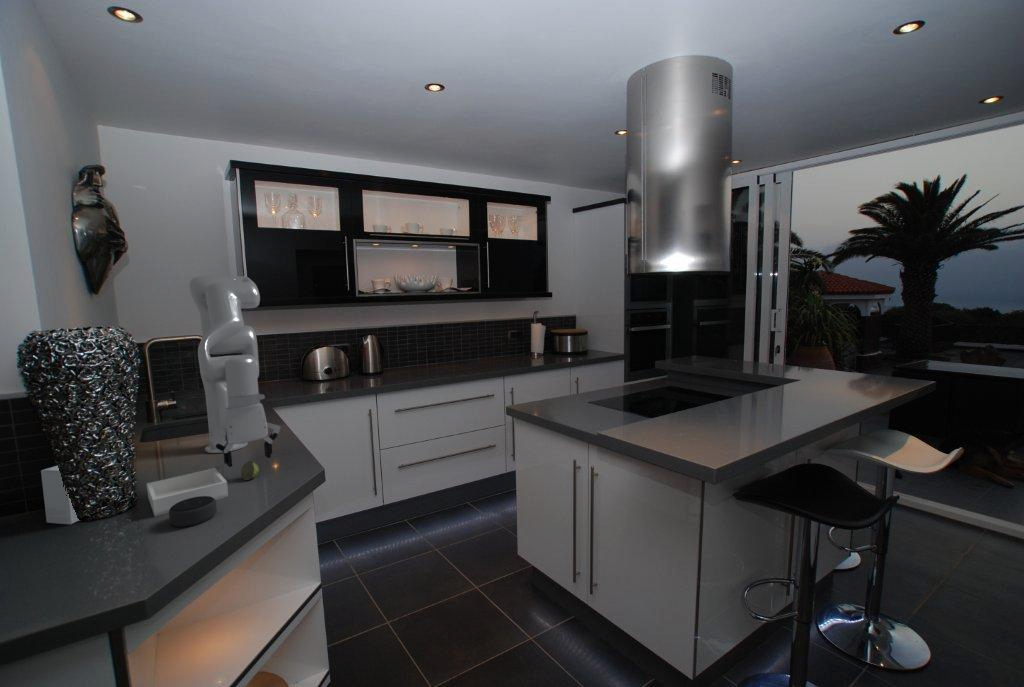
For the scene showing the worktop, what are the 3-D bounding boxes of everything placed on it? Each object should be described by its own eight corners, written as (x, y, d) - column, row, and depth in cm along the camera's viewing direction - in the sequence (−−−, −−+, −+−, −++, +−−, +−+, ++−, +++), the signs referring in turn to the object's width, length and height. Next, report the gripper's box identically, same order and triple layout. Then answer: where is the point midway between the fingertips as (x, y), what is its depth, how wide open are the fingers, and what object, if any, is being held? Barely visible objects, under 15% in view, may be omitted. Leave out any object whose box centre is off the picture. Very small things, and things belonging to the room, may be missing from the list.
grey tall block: (70, 525, 105) (64, 471, 104) (45, 523, 106) (39, 469, 105) (105, 510, 112) (99, 460, 111) (81, 509, 113) (75, 459, 112)
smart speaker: (199, 528, 101) (198, 510, 101) (160, 529, 101) (158, 511, 101) (225, 510, 110) (224, 494, 110) (189, 511, 110) (187, 495, 110)
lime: (257, 480, 129) (255, 463, 128) (238, 482, 128) (236, 464, 127) (262, 474, 133) (260, 458, 133) (243, 476, 132) (242, 459, 132)
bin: (148, 498, 119) (146, 483, 118) (216, 481, 129) (214, 467, 128) (154, 516, 108) (152, 500, 107) (228, 496, 118) (226, 481, 117)
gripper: (273, 395, 137) (278, 451, 138) (204, 405, 125) (210, 466, 126) (281, 397, 131) (286, 456, 133) (210, 408, 120) (216, 472, 121)
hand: (249, 461), depth 130 cm, fingers open, 9 cm apart
